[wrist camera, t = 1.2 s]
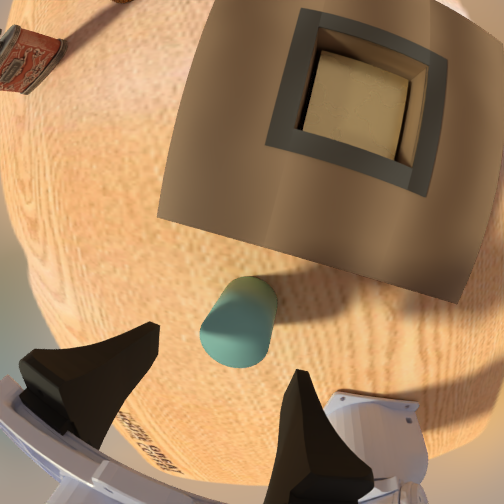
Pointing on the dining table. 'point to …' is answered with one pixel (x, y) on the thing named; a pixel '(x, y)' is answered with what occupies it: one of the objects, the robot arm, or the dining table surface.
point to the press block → (338, 153)
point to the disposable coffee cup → (121, 1)
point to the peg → (240, 323)
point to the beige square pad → (357, 104)
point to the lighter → (27, 59)
